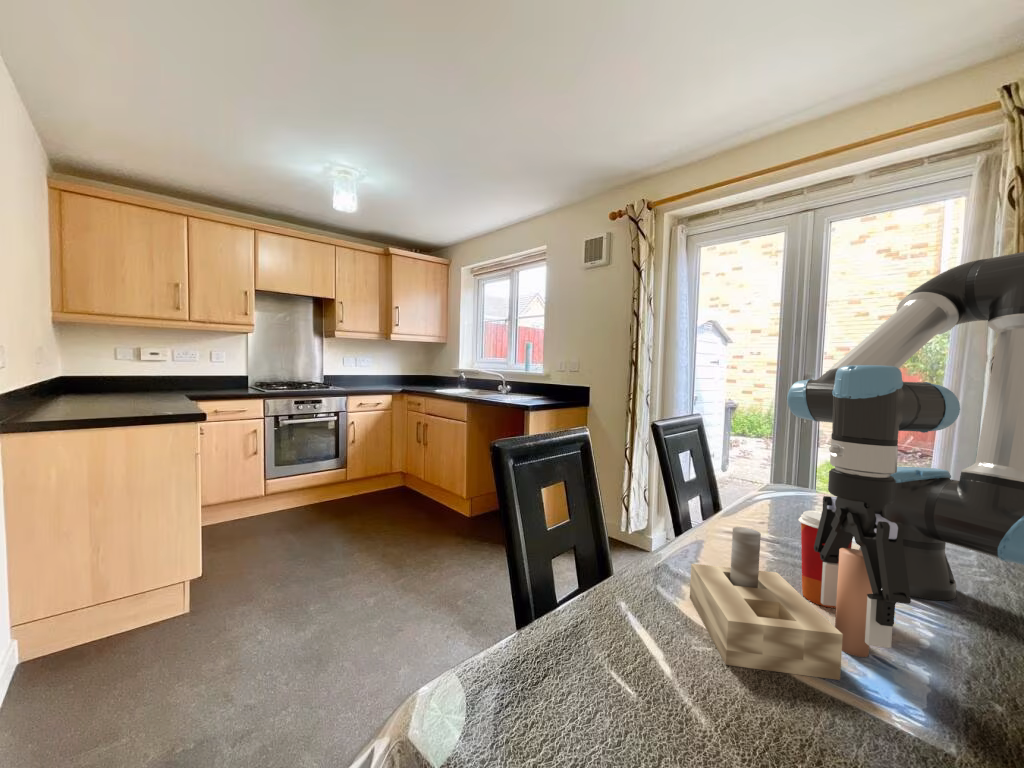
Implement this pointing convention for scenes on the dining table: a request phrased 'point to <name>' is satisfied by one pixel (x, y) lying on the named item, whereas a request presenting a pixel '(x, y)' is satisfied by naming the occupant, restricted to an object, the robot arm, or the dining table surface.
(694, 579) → the bore block
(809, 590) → the coffee cup
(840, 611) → the dowel
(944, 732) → the dining table surface
